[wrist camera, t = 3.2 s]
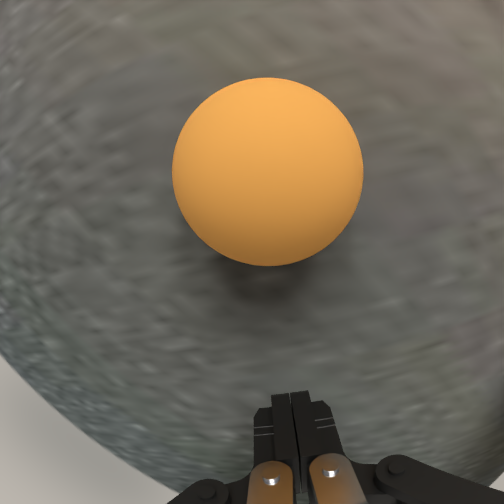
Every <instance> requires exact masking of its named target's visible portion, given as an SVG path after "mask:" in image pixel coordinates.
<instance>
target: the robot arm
mask: <svg viewBox="0 0 504 504" xmlns="http://www.w3.org/2000/svg"><path fill="white" fill-rule="evenodd" d="M290 398H291V404H290ZM271 402H272V407H269V408H259V409H258V411H257V413H256V415H255V416H254V466H253V469H252V471H251V472H250V473H249V475H247V476H246V477H245V478H243V479H241V480H239V481H236V482H232V483H229V484H223V483H222V482H220V481H218V480H214V479H204V480H200V481H197V482H195V483H194V484H192V485H191V486H190V487H188V488H187V489H186V490H184V491H183V492H182V493H180V494H179V495H178V496H176V497H175V498H174V499H173V500H171V501H170V502H168V503H167V504H296V494H297V493H300V482H301V489H302V493H304V492H308V495H309V504H504V492H502V491H499V490H496V489H493V488H490V487H487V486H483V485H480V484H477V483H474V482H471V481H469V480H466V479H463V478H460V477H457V476H455V475H452V474H449V473H447V472H444V471H441V470H439V469H436V468H434V467H431V466H429V465H426V464H424V463H421V462H419V461H417V460H414V459H412V458H409V457H407V456H404V455H391V456H388V457H385V458H384V459H382V460H381V461H380V462H379V463H378V464H359V463H356V462H353V461H351V460H350V459H348V458H347V457H346V456H345V454H344V452H343V449H342V445H341V442H340V439H339V435H338V432H337V429H336V426H335V422H334V419H333V416H332V412H331V409H330V407H329V406H328V405H327V404H326V403H325V402H324V401H323V400H322V401H315V402H311V400H310V396H309V392H308V390H307V391H300V392H292V393H290V397H289V393H285V394H276V395H271ZM299 475H300V477H299Z"/></svg>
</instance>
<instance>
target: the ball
mask: <svg viewBox="0 0 504 504" xmlns="http://www.w3.org/2000/svg"><path fill="white" fill-rule="evenodd" d="M172 180H173V187H174V192H175V196H176V199H177V202H178V205H179V208H180V210H181V212H182V214H183V216H184V218H185V219H186V221H187V222H188V224H189V226H190V227H191V228H192V230H193V231H194V232H195V233H196V234H197V235H198V237H199V238H201V239H202V240H203V241H204V242H205V243H206V244H207V245H208V246H210V247H211V248H213V249H214V250H216V251H217V252H219V253H221V254H223V255H224V256H226V257H228V258H231V259H233V260H236V261H239V262H242V263H247V264H251V265H259V266H279V265H285V264H291V263H294V262H297V261H301V260H303V259H305V258H308V257H310V256H312V255H314V254H316V253H317V252H319V251H321V250H322V249H324V248H325V247H326V246H328V245H329V244H330V243H331V242H333V241H334V240H335V238H336V237H337V236H338V235H339V234H340V233H341V232H342V231H343V229H344V228H345V227H346V225H347V224H348V223H349V221H350V219H351V217H352V215H353V214H354V212H355V209H356V207H357V204H358V202H359V198H360V194H361V190H362V184H363V161H362V154H361V150H360V146H359V143H358V140H357V138H356V135H355V133H354V131H353V129H352V127H351V125H350V124H349V122H348V121H347V119H346V118H345V116H344V115H343V114H342V113H341V111H340V110H339V109H338V108H337V107H336V106H335V105H334V104H333V103H332V102H331V101H330V100H328V99H327V98H326V97H324V96H323V95H322V94H320V93H319V92H317V91H315V90H313V89H311V88H310V87H307V86H305V85H302V84H300V83H297V82H294V81H290V80H286V79H279V78H255V79H248V80H244V81H240V82H237V83H234V84H231V85H229V86H227V87H225V88H222V89H221V90H219V91H217V92H216V93H214V94H213V95H211V96H210V97H209V98H207V99H206V100H205V101H204V102H202V103H201V104H200V105H199V107H198V108H197V109H196V110H195V111H194V112H193V113H192V115H191V116H190V117H189V119H188V120H187V121H186V123H185V125H184V127H183V129H182V131H181V133H180V135H179V138H178V140H177V143H176V146H175V151H174V155H173V163H172Z"/></svg>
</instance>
